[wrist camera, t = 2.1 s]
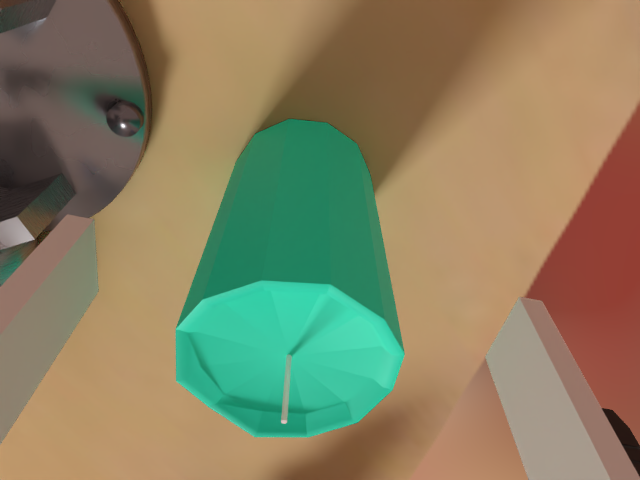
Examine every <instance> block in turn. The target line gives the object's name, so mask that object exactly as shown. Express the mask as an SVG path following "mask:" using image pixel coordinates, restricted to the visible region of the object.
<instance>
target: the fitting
mask: <svg viewBox="0 0 640 480" xmlns="http://www.w3.org/2000/svg"><path fill="white" fill-rule="evenodd" d="M151 116H152V102H151V88H150V82H149V77H148V72H147V67H146V63H145V60H144V57H143V54H142V51H141V47H140V44H139V42H138V40H137V37H136V35H135V33H134V30H133V28H132V26H131V24H130V21H129V19H128V17H127V16H126V14H125V12H124V10H123V9H122V7H121V5H120V4H119V2H118V0H0V287H1V286H2V285H3V284H4V282H5V281H6V280H7V279H8V278H9V277H10V276H11V275H12V274H13V273H14V272H15V270H16V269H17V268H18V267H19V266H20V265H21V264H22V263H23V262H24V261H25V260H26V259H27V257H28V256H29V255H30V254H31V253H32V252H33V251H34V250H35V249H36V248H37V247H38V240H37V236H38V235H39V234H40V233H41V232H44V231H52V230H53V229H54V228H55V227H56V226H57V225H58V224H59V223H60V222H61V220H62V219H63V218H64V217H65V216H66V215H67V214H68V215H74V216H79V217H84V218H89V217H91V216H93V215H95V214H96V213H98V212H99V211H101V210H102V209H103V208H104V207H106V206H107V205H108V204H109V203H111V202H112V201H113V200H114V198H115V197H116V196H117V195H118V194H119V193H120V192H121V191H122V189H123V188H124V187H125V185H126V184H127V183H128V181H129V180H130V179H131V177H132V176H133V174H134V172H135V171H136V169H137V168H138V166H139V164H140V162H141V159H142V157H143V155H144V152H145V150H146V146H147V142H148V138H149V134H150V128H151Z"/></svg>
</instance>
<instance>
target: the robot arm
mask: <svg viewBox="0 0 640 480" xmlns="http://www.w3.org/2000/svg"><path fill="white" fill-rule="evenodd" d="M97 293H98V274H97V257H96V240H95V223H94V219H90V218H84V217H79V216H74V215H68V214H67V215H66V216H65V217H64V218H63V219H62V220H61V222H60V223H59V224H58V225H57V226H56V227H55V228H54V229H53V230H52V231H51V232H50V234H49V235H48V236H47V237H46V238H45V239H44V240H43V241H42V242H41V243H40V244H39V245H38V247H37V248H36V249H35V250H34V251H33V252H32V253H31V254H30V255H29V256H28V257H27V259H26V260H25V261H24V262H23V263H22V264H21V265H20V266H19V267H18V268H17V269H16V270H15V272H14V273H13V274H12V275H11V276H10V277H9V278H8V279H7V280H6V281H5V282H4V284H3V285H2V286H1V287H0V444H1V443H2V441H3V440H4V438H5V437H6V435H7V433H8V432H9V430H10V429H11V427H12V426H13V424H14V423H15V421H16V419H17V418H18V416H19V415H20V413H21V412H22V410H23V408H24V407H25V405H26V404H27V402H28V401H29V399H30V398H31V396H32V394H33V393H34V391H35V390H36V388H37V387H38V385H39V383H40V382H41V380H42V379H43V377H44V376H45V374H46V373H47V371H48V369H49V368H50V366H51V365H52V363H53V362H54V360H55V359H56V357H57V355H58V354H59V352H60V351H61V349H62V348H63V346H64V344H65V343H66V341H67V340H68V338H69V337H70V335H71V334H72V332H73V330H74V329H75V327H76V326H77V324H78V323H79V321H80V319H81V318H82V316H83V315H84V313H85V312H86V310H87V309H88V307H89V305H90V304H91V302H92V301H93V299H94V298H95V296H96V294H97ZM485 358H486V360H487V363H488V366H489V369H490V372H491V375H492V377H493V380H494V383H495V386H496V389H497V391H498V395H499V397H500V400H501V403H502V406H503V409H504V411H505V414H506V417H507V420H508V423H509V426H510V429H511V431H512V434H513V437H514V440H515V443H516V445H517V448H518V451H519V454H520V457H521V459H522V463H523V465H524V468H525V471H526V473H527V476H528V480H640V445H639V444H638V442H637V440H636V439H635V437H634V435H633V434H632V432H631V430H630V428H629V427H628V426H627V425H626V424H625V423H624V422H623V421H622V420H621V419H620V418H619V417H618V415H617V414H616V413H615V412H614V411H613V410H610V409H604V408H601V407H600V405H599V403H598V401H597V399H596V398H595V396H594V394H593V392H592V390H591V389H590V387H589V385H588V383H587V381H586V380H585V378H584V376H583V374H582V372H581V371H580V369H579V367H578V365H577V364H576V362H575V360H574V358H573V356H572V354H571V353H570V351H569V349H568V347H567V345H566V344H565V342H564V340H563V338H562V337H561V335H560V333H559V331H558V329H557V328H556V326H555V324H554V322H553V320H552V319H551V317H550V315H549V313H548V311H547V309H546V308H545V306H544V304H543V302H542V301H539V300H534V299H528V298H523V297H519V298H518V300H517V302H516V303H515V305H514V307H513V309H512V310H511V312H510V314H509V316H508V317H507V319H506V321H505V323H504V324H503V326H502V328H501V330H500V331H499V333H498V335H497V337H496V339H495V340H494V342H493V344H492V346H491V347H490V349H489V351H488V353H487V354H486V356H485Z"/></svg>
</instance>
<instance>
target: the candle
mask: <svg viewBox="0 0 640 480" xmlns="http://www.w3.org/2000/svg"><path fill="white" fill-rule="evenodd" d="M404 355H405V353H404V348H403V343H402V337H401V332H400V327H399V322H398V316H397V311H396V306H395V301H394V295H393V290H392V285H391V280H390V275H389V269H388V264H387V259H386V254H385V248H384V243H383V238H382V233H381V227H380V222H379V217H378V212H377V206H376V201H375V196H374V191H373V185H372V180H371V175H370V173H369V170H368V168H367V166H366V163H365V161H364V159H363V156H362V154H361V152H360V149H359V147H358V145H357V143H355V142H354V141H352V140H351V139H350V138H348V137H347V136H345V135H344V134H343V133H341V132H340V131H338V130H337V129H335V128H334V127H333V126H331V125H330V124H328V123H326V122H316V121H306V120H296V119H287V120H285V121H283V122H281V123H278V124H276V125H274V126H271V127H269V128H267V129H265V130H262V131H260V132H258V133H256V134H255V135H254V136H253V138H252V139H251V141H250V142H249V144H248V145H247V146H246V148H245V149H244V151H243V152H242V154H241V155H240V157H239V158H238V160H237V161H236V163H235V166H234V169H233V172H232V174H231V177H230V180H229V183H228V185H227V188H226V191H225V194H224V197H223V199H222V202H221V205H220V208H219V210H218V213H217V216H216V219H215V222H214V224H213V227H212V230H211V233H210V235H209V238H208V241H207V244H206V246H205V249H204V252H203V255H202V258H201V260H200V263H199V266H198V269H197V271H196V274H195V277H194V280H193V282H192V285H191V288H190V291H189V294H188V296H187V299H186V302H185V305H184V307H183V310H182V313H181V316H180V319H179V321H178V324H177V327H176V381H177V382H178V383H179V384H181V385H182V386H183V387H184V388H186V389H187V390H188V391H189V392H191V393H192V394H193V395H194V396H196V397H197V398H198V399H199V400H201V401H202V402H203V403H204V404H206V405H207V406H208V407H209V408H211V409H212V410H214V411H215V412H217V413H218V414H220V415H222V416H223V417H225V418H226V419H228V420H229V421H231V422H232V423H234V424H235V425H237V426H238V427H240V428H241V429H243V430H244V431H246V432H248V433H249V434H251V435H252V436H254V437H311V436H315V435H318V434H321V433H325V432H328V431H331V430H335V429H338V428H342V427H345V426H348V425H352V424H355V423H358V422H359V421H360V420H361V419H362V418H363V417H364V416H365V415H366V414H367V413H369V412H370V411H371V410H372V409H373V408H374V407H375V406H376V405H377V404H378V403H379V402H380V401H381V400H382V399H383V398H384V397H386V396H387V395H388V394H389V393H390V392H391V391H392V390H393V387H394V384H395V381H396V379H397V376H398V373H399V370H400V367H401V364H402V361H403V358H404Z"/></svg>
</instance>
